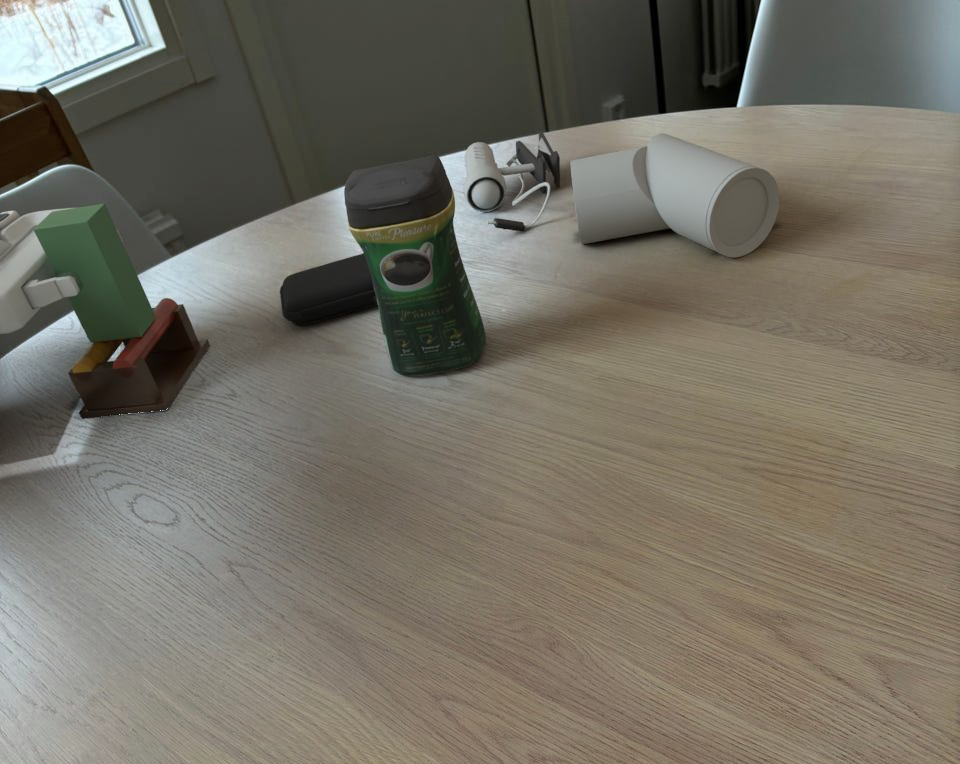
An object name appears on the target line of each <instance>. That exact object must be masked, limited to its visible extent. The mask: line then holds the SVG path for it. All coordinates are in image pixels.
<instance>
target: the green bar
mask: <svg viewBox="0 0 960 764" xmlns="http://www.w3.org/2000/svg"><path fill="white" fill-rule="evenodd" d="M71 208H72V209H66V210H59V211H53V212H51V213H50V214H49V215H48V216H47V217H46V218H45V219H44V220H43V221H41V222H40V223H39V224H38V225H37V226H36V227H35V228H34V229H33V230H34V232H35V234H36V236H37V238H38V240H39V242H40V244H41V246H42V248H43V250H44V252H45V254H46V256H47V258H48V260H49V262H50V264H51V266H52V268H53V270H54V272H55V274H56V276H57V277H58V276H59V275H60V274H61V273H65V272H67V273H69V272H73V271H74V272H76V273H78V274H79V276H80V280H81V281H82V282H83V285H84V286H83V288H82V290H81V291H80V292H79V293H78V294H77V295H76V296H71V297H66V298H67V300H68V302H69V303H70V306H71V308H72V309H73V312H74V313H75V315H76V317H77V320H78V321H79V323H80V325H81V327H82V330H83V331H84V333H85V335H86V338H87V339H88V341H89V343H91V344H92V343H93V342H101V341H109V340H118V339H127V338H136V337H142V335H143V334H144V333H145V331H146V330H147V329H148V328H149V326H150V325H151V324H152V322H153V321H154V320H155V318H156V316H155V314H154V312H153V309H152V308H153V307H152V305H151V303H150V301H149V299H148V296H147V293H146V292H145V290H144V287H143V284H142V283H141V281H140V278H139V276H138V274H137V272H136V269H135V267H134V264H133V263H132V260H131V258H130V256H129V254H128V251H127V249H126V247H125V244H124V242H122V240H123V239H122V240H121V238H122V237H121V238H120V236H121V235H120V236H119V234H120V233H119V234H118V232H119V230H118V229H117V228H116V227H117V226H116V225H115V223H114V220H113V218H112V216H111V214H110V211H109V209H108V206H107V205H106V203H100V204H98V203H97V204H93V205H86V206H80V207H71ZM117 230H118V231H117Z"/></svg>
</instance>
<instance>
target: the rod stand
mask: <svg viewBox="0 0 960 764" xmlns="http://www.w3.org/2000/svg"><path fill="white" fill-rule="evenodd" d="M152 309H153V312H154V314H155V316H156V318H155V320H154V321H153V322H152V324H151V325H150V326H149V328H148V329H147V330H146V331H145V333H144V334H143V335H142V337H136V338H127V339H118V340H109V341H101V342H92V343H91V344H90V345H89V346H88V348H87V349H86V350H85V351H84V353H82V355H81V356H80V357H79V359H78V360H77V361H76V362H75V364H73V366H72V368H71V369H70V370H69V371H68V372H67V375H68V377H69V379H70V380H71V382H72V385H73V386H74V388H75V390H76V392H77V394H78V396H79V397H80V400H81V401H82V403H83V406H82V407H81V409H80V410H79V411H78V415H79V417H80V418H81V420H83V419H84V420H86V419H85V418H87V419H96V418H95V417H98V418H104V417H103V416H108V417H113V416H112V415H119V414H120V415H119V416H122V415H121V414H128V413H138V412H139V413H140V412H150V413H152V412H151V411H160V410H161V412H163V411H162V410H166V409H167V408H168V407H169V406H170V407H171V405H172V404H173V402H174V401H175V400H176V398H177V396H178V395H179V394H180V392H181V390H182V389H183V388H184V386H185V384H186V383H187V381H188V380H189V379H190V377H191V375H192V374H193V372H194V371H195V370H196V368H197V366H198V365H199V364H200V362H201V361H202V359H203V358H204V356H205V354H206V353H207V352H208V350H209V348H210V347H211V344H210V342H209V339H208V338H207V339H205V338H204V339H199V338H198V336H197V333H196V331H195V329H194V327H193V325H192V322H191V320H190V317H189V315H188V312H187V310H186V308H185V305H184V304H183V303H181V304H180V303H179V304H178V303H177V302H176V300H175V299H172V298H169V297H163V298H162V299H161V300H160V301H159V302H158V304H157V305H156V306H155V307H152ZM122 344H123V345H124V348H123V349H122V351H120V353H119V354H118V355H117V356H116V358H115V360H110V359H111V358H112V356H113V355H114V354H115V353H116V351H117V350H118V349H119V348H120V346H122ZM109 360H110V361H109ZM171 403H172V404H171ZM170 404H171V405H170ZM170 407H169V408H170ZM169 408H168V409H169ZM140 414H141V413H140ZM110 415H111V416H110ZM101 416H102V417H101Z"/></svg>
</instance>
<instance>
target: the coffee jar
mask: <svg viewBox="0 0 960 764" xmlns="http://www.w3.org/2000/svg"><path fill="white" fill-rule="evenodd" d="M446 171H447V170H446V169H445V166H444V164H443V162H442V160H441V157H439V156H438V155H436V154H432V155H428V156H424V157H419V158H415V159H409V160H403V161H398V162H392V163H387V164H382V165H377V166H372V167H367V168H359V169H354V170H353V171H352V172H351V173H350V175H349V177H348V179H347V180H346V182H345V186H344V188H343V195H344V196H343V197H344V205H345V208H346V210H345V211H346V216H347V223H348V228H349V231H350V233H351V236H352V238H353V239H354V240H355V241H356V243H357V244H358V246H359V247H360V249H361V251H362V252H363V253H364V255H365V258H366V261H367V264H368V267H369V270H370V274H371V277H372V281H373V285H374V290H375V294H376V299H377V308H378V314H379V318H380V319H379V320H380V324H381V329H382V334H383V339H384V344H385V348H386V353H387V357H388V361H389V365H390V367H391V369H392V371H394V372H396V373H397V374H399V375H401V376H407V377H411V376H423V375H432V374H439V373H444V372H449V371H456V370H460V369H463V368H466V367H469V366H470V365H472V364H473V363H475V362H476V360H478V359H479V358H480V357H481V356H482V354H483V353H484V351H485V347H486V342H487V334H486V329H485V324H484V322H483V318H482V315H481V312H480V309H479V306H478V304H477V300H476V298H475V295H474V292H473V290H472V286H471V284H470V281H469V277H468V275H467V272H466V269H465V266H464V263H463V259H462V256H461V253H460V250H459V249H460V248H459V245H458V241H457V237H456V231H455V226H454V218H455V214H456V213H455V212H456V198H455V192H454V190H453V187H452V185H451V184H452V183H451V182H450V180H449V177H448V175H447V172H446ZM363 253H362V254H363Z"/></svg>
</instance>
